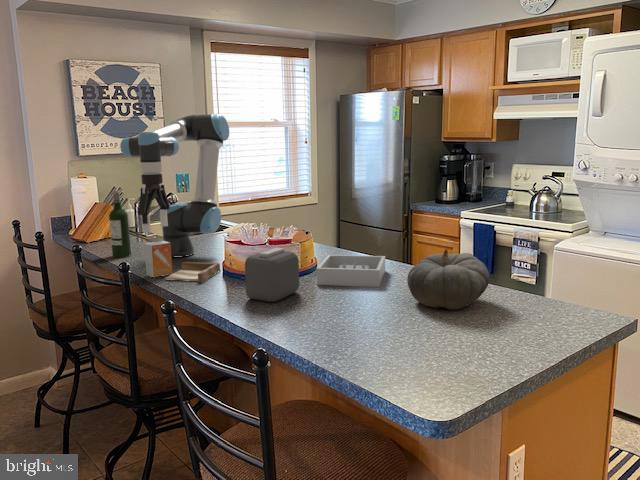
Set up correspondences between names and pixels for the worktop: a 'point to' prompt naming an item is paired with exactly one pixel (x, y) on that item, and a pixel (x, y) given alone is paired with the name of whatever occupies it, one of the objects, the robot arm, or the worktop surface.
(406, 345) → the worktop surface
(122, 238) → the wine bottle
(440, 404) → the worktop surface
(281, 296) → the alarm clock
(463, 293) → the gourd
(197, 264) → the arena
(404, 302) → the worktop surface
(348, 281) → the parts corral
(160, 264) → the small box
